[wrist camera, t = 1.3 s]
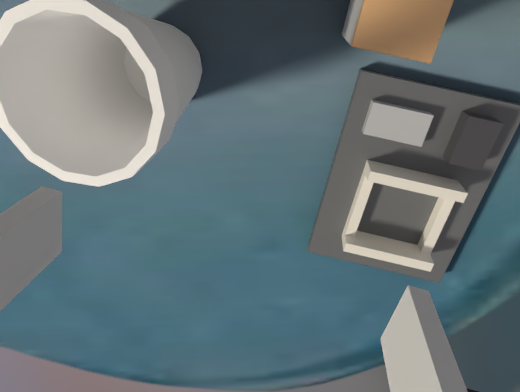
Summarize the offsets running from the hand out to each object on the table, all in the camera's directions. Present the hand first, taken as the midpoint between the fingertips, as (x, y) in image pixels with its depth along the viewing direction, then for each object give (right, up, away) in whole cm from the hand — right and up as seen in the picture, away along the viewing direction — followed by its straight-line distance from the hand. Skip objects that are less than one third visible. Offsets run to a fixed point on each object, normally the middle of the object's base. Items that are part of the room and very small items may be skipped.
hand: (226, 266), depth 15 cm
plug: (+9, +16, +13) cm, 23 cm away
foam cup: (-6, +13, +17) cm, 22 cm away
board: (+13, +4, +18) cm, 23 cm away
